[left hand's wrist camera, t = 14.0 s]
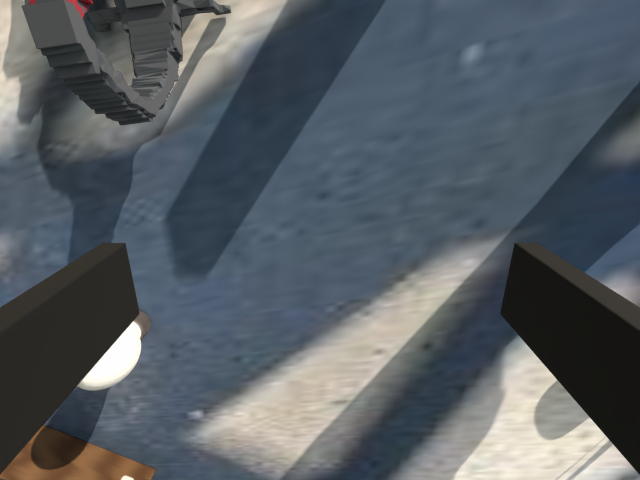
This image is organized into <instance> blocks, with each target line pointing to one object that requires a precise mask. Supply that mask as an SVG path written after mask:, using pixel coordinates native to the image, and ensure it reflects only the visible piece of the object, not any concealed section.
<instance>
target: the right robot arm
mask: <svg viewBox="0 0 640 480" xmlns="http://www.w3.org/2000/svg"><path fill="white" fill-rule="evenodd" d="M121 480H134V479H133V478H131V477H129V476H123V477H122V478H121Z"/></svg>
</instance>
